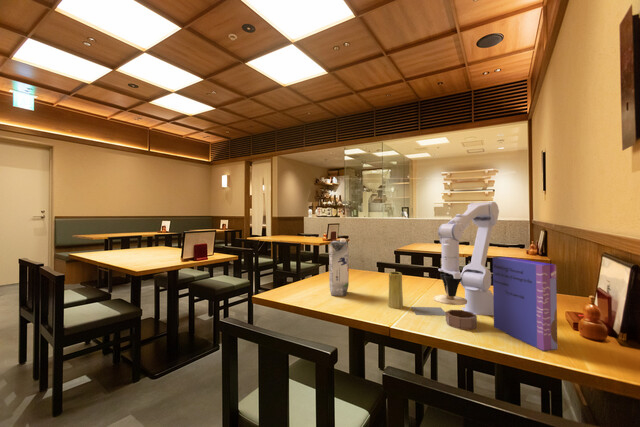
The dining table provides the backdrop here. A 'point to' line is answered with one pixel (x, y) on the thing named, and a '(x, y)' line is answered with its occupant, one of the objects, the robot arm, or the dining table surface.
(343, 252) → the juice carton
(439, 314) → the mat
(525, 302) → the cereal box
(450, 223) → the robot arm
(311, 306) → the dining table surface
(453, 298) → the lid
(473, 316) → the bowl
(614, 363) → the dining table surface
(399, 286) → the vase
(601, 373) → the dining table surface
